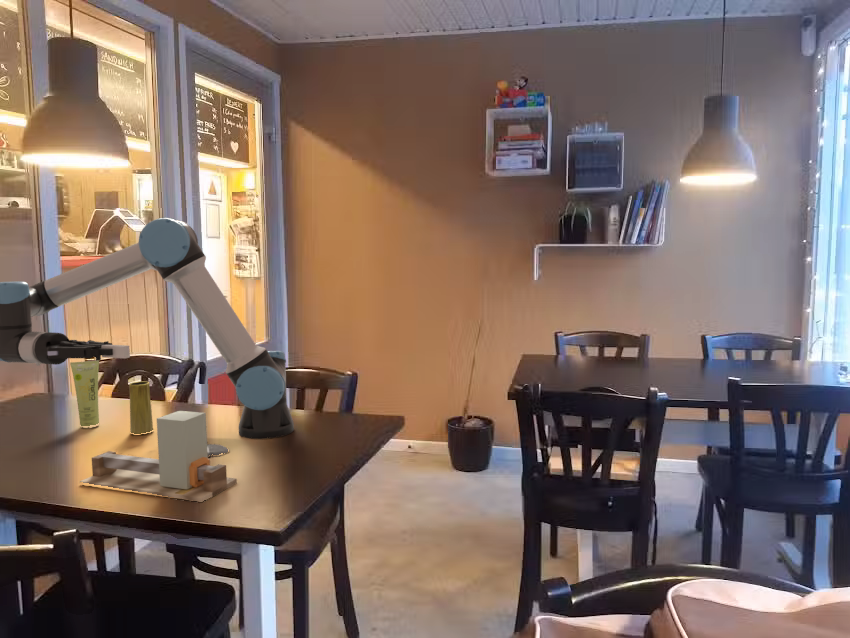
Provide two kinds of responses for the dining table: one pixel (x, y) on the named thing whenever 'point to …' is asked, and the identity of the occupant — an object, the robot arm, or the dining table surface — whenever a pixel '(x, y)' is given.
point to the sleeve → (182, 448)
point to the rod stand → (154, 477)
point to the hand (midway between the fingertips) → (127, 351)
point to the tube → (86, 391)
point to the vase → (140, 408)
